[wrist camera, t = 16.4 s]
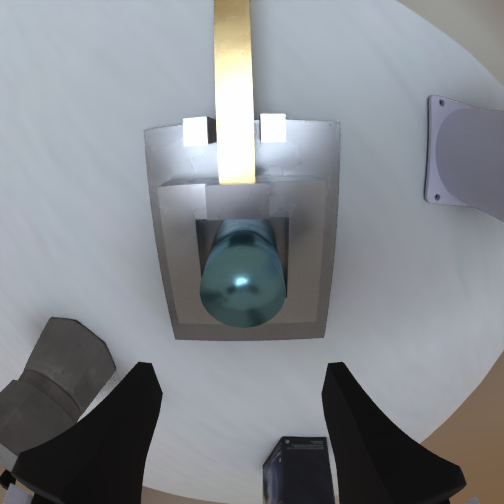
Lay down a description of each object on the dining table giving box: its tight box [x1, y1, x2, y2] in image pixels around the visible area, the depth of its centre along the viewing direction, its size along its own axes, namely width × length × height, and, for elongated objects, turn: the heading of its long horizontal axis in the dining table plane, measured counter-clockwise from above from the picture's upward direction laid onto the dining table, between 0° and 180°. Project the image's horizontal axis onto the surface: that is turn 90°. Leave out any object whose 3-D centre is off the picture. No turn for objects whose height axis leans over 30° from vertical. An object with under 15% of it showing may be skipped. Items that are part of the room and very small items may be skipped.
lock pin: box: [205, 0, 270, 221], centre depth 11 cm, size 3×16×2 cm, turn 2°
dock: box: [144, 114, 340, 341], centre depth 17 cm, size 12×16×6 cm
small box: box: [263, 437, 335, 504], centre depth 27 cm, size 11×6×10 cm, turn 169°
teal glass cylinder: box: [200, 219, 286, 328], centre depth 16 cm, size 4×4×6 cm
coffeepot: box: [0, 318, 116, 490], centre depth 16 cm, size 15×9×18 cm, turn 70°
